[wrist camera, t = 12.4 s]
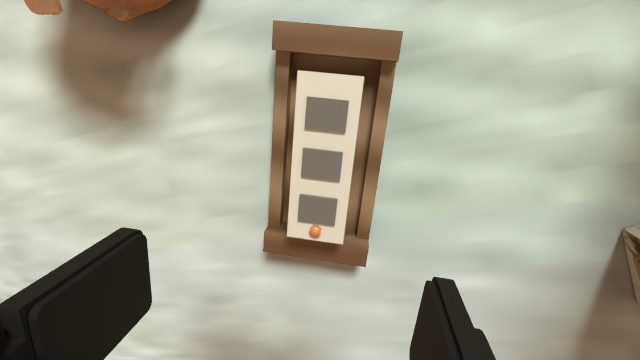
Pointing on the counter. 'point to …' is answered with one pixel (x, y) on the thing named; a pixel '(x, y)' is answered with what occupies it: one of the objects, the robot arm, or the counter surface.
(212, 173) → the counter surface
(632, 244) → the coffee box
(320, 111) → the strip
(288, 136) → the cradle
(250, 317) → the counter surface
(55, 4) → the ceramic jug
